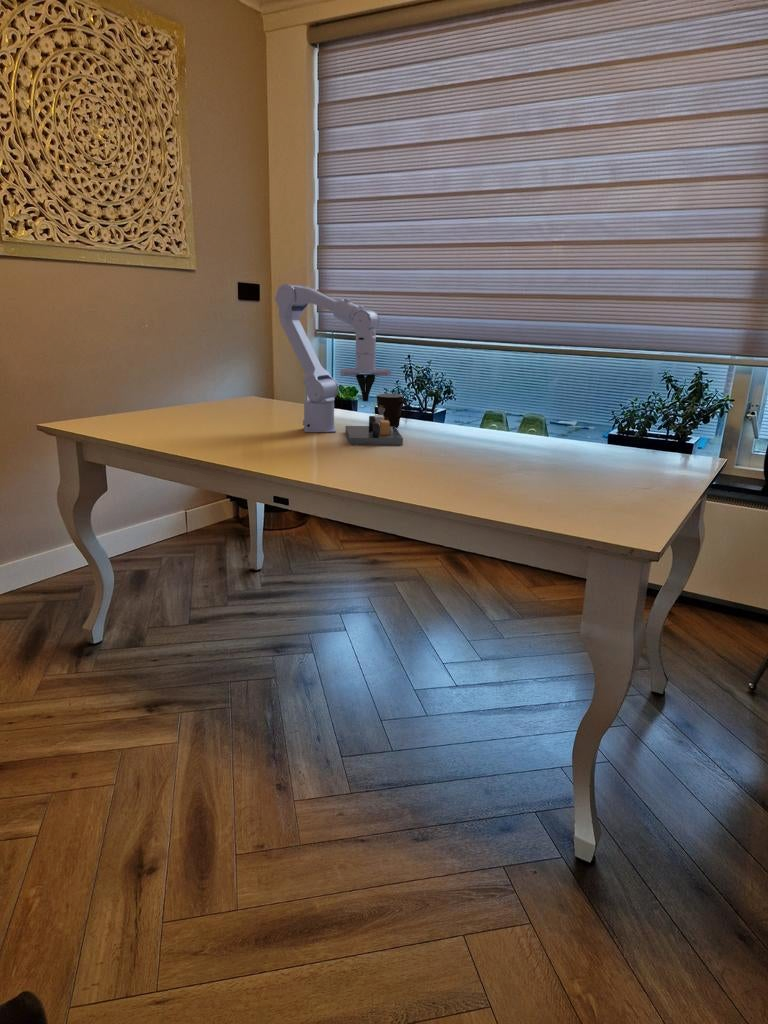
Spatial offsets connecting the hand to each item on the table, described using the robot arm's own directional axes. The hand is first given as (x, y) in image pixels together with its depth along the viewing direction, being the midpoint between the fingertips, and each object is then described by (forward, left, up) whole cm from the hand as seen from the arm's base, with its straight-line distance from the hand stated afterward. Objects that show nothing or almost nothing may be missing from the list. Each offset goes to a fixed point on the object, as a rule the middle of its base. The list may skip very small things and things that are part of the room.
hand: (365, 401), depth 195 cm
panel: (+2, -4, -10) cm, 11 cm away
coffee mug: (+10, +14, -11) cm, 20 cm away
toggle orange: (+5, -6, -8) cm, 12 cm away
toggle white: (+5, +3, -8) cm, 10 cm away
